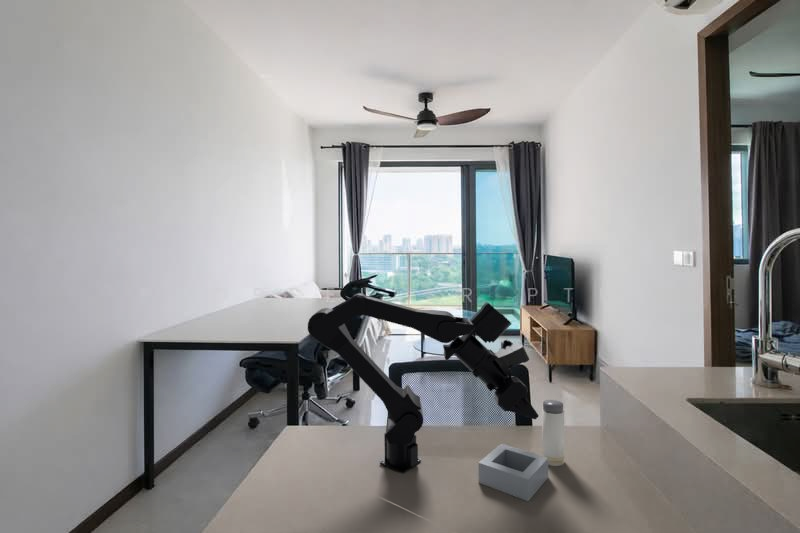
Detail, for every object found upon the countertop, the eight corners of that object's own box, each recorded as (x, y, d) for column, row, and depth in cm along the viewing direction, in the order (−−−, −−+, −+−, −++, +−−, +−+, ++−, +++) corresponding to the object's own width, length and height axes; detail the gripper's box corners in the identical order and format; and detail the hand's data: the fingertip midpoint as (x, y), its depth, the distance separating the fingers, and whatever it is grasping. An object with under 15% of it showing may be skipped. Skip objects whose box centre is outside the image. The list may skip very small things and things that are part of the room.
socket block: (478, 482, 84) (478, 462, 84) (501, 461, 92) (501, 443, 91) (528, 501, 78) (528, 479, 77) (548, 477, 85) (548, 457, 85)
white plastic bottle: (538, 461, 91) (538, 404, 91) (546, 453, 95) (546, 397, 94) (560, 468, 89) (560, 408, 88) (567, 459, 92) (567, 402, 91)
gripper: (515, 340, 81) (574, 397, 82) (494, 322, 100) (542, 369, 100) (474, 382, 82) (533, 439, 82) (461, 356, 100) (509, 402, 101)
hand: (530, 408), depth 91 cm, fingers open, 9 cm apart
